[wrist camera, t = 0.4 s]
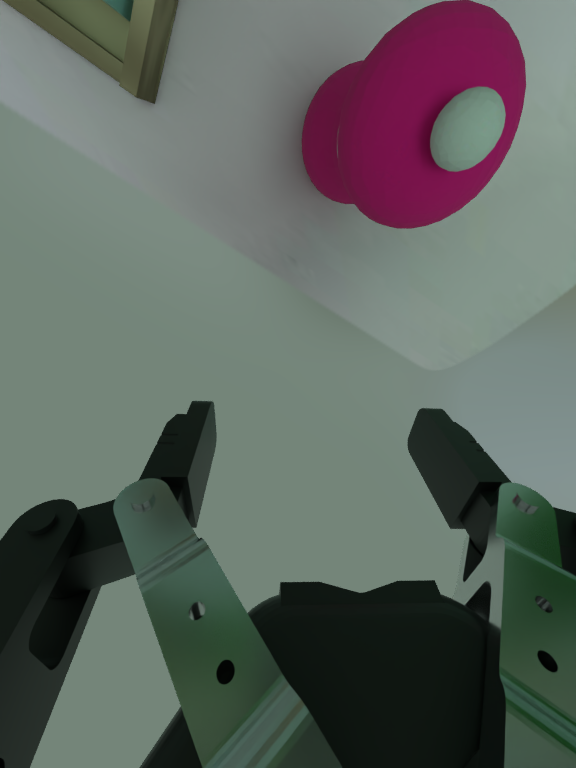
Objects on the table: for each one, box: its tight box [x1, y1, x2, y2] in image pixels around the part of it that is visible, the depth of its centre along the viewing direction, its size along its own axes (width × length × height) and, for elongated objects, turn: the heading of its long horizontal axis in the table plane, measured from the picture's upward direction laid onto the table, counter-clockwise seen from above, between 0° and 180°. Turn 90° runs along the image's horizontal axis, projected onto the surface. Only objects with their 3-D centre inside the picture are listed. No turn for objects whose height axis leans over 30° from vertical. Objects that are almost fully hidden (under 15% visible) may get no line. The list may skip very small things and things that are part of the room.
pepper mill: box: [302, 0, 526, 228], centre depth 15 cm, size 7×7×20 cm
